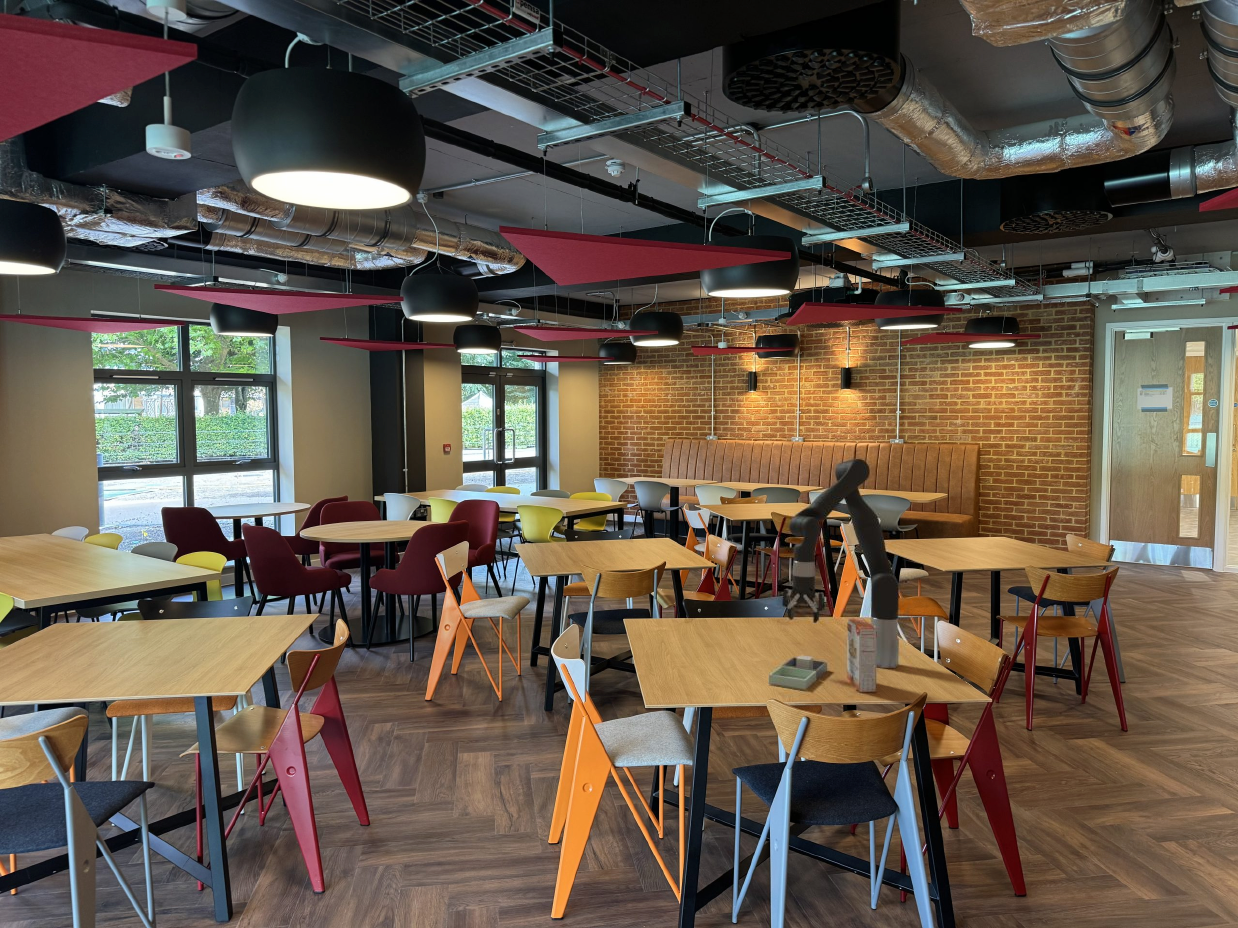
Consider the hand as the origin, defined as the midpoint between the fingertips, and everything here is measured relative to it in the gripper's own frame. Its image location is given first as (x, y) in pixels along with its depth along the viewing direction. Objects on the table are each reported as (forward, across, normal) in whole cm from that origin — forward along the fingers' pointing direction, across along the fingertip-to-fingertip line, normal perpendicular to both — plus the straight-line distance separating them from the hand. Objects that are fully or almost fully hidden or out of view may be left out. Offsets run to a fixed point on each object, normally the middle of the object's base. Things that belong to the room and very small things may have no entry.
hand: (803, 620), depth 271 cm
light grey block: (+18, -1, 0) cm, 18 cm away
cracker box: (+18, -21, +4) cm, 28 cm away
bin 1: (+18, -1, +13) cm, 23 cm away
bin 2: (+18, -1, 0) cm, 18 cm away
